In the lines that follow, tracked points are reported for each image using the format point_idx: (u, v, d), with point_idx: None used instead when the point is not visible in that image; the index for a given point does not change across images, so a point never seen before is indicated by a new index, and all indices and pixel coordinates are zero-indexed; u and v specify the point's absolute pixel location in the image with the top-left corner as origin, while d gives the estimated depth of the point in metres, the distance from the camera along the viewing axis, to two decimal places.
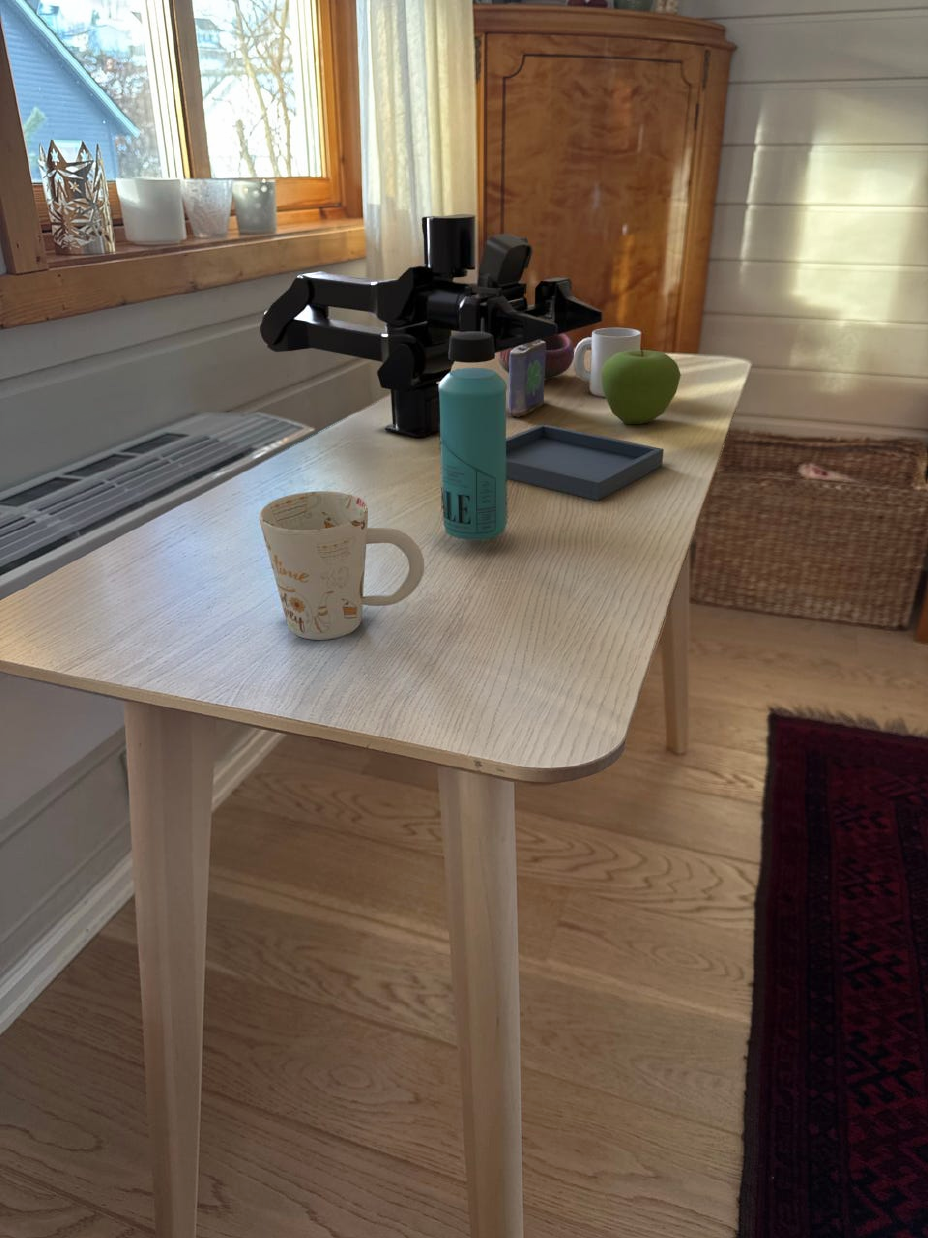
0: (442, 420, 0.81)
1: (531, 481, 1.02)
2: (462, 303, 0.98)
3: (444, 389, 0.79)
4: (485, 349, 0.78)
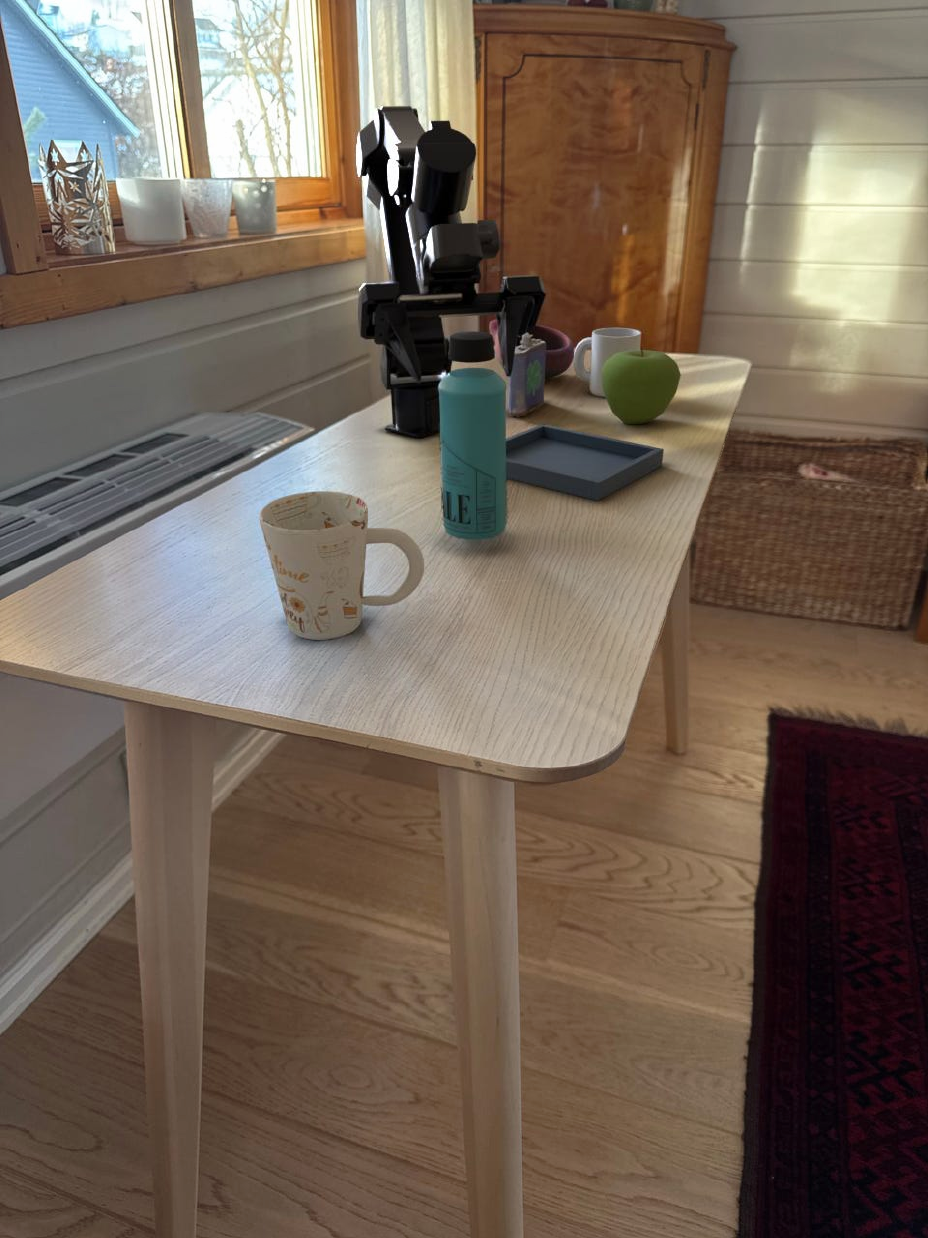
0: (442, 420, 0.81)
1: (531, 481, 1.02)
2: (361, 287, 0.88)
3: (444, 389, 0.79)
4: (485, 349, 0.78)
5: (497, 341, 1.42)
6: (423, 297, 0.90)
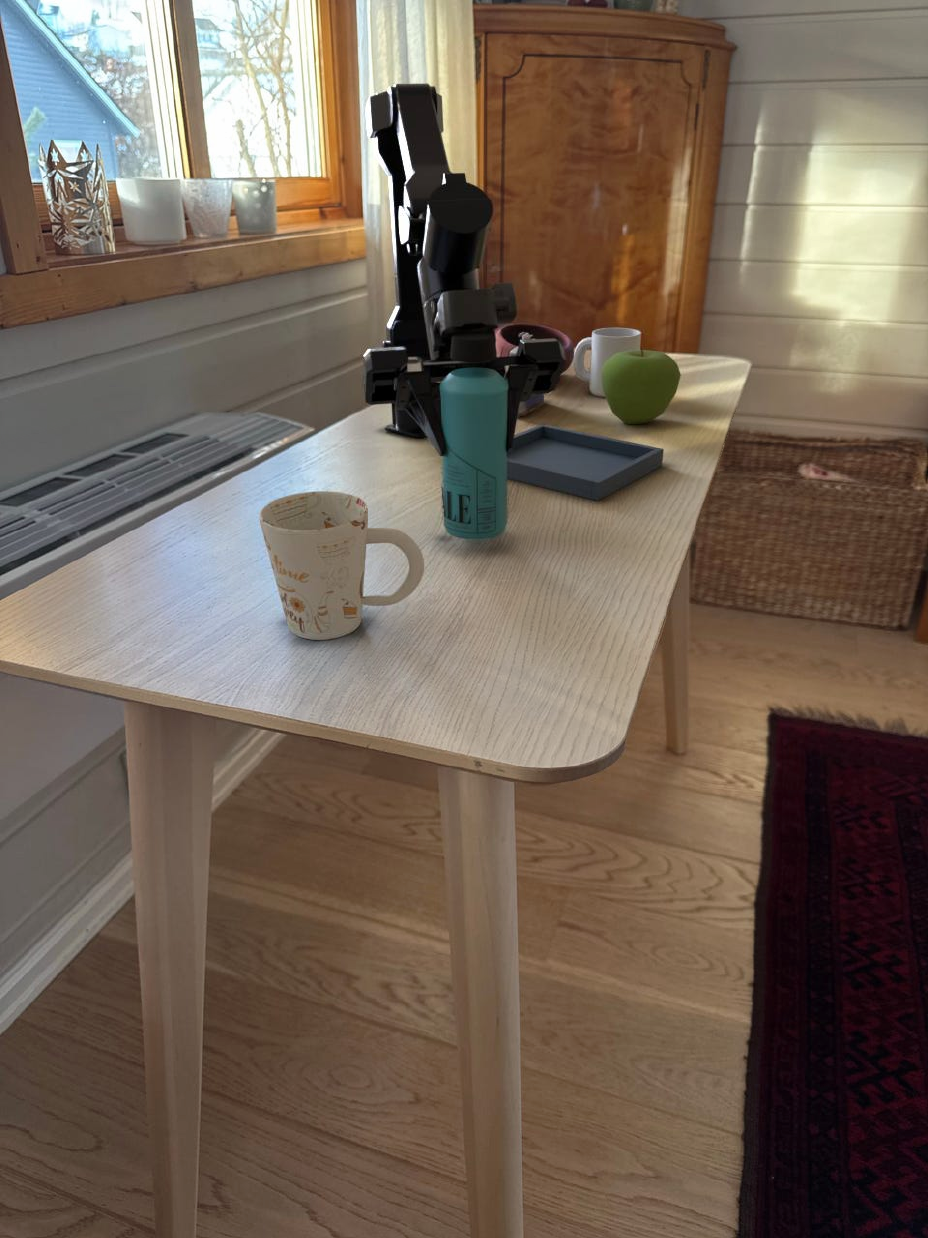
0: (443, 420, 0.81)
1: (531, 481, 1.02)
2: (366, 353, 0.81)
3: (445, 389, 0.79)
4: (487, 349, 0.78)
5: (497, 341, 1.42)
6: (449, 362, 0.83)
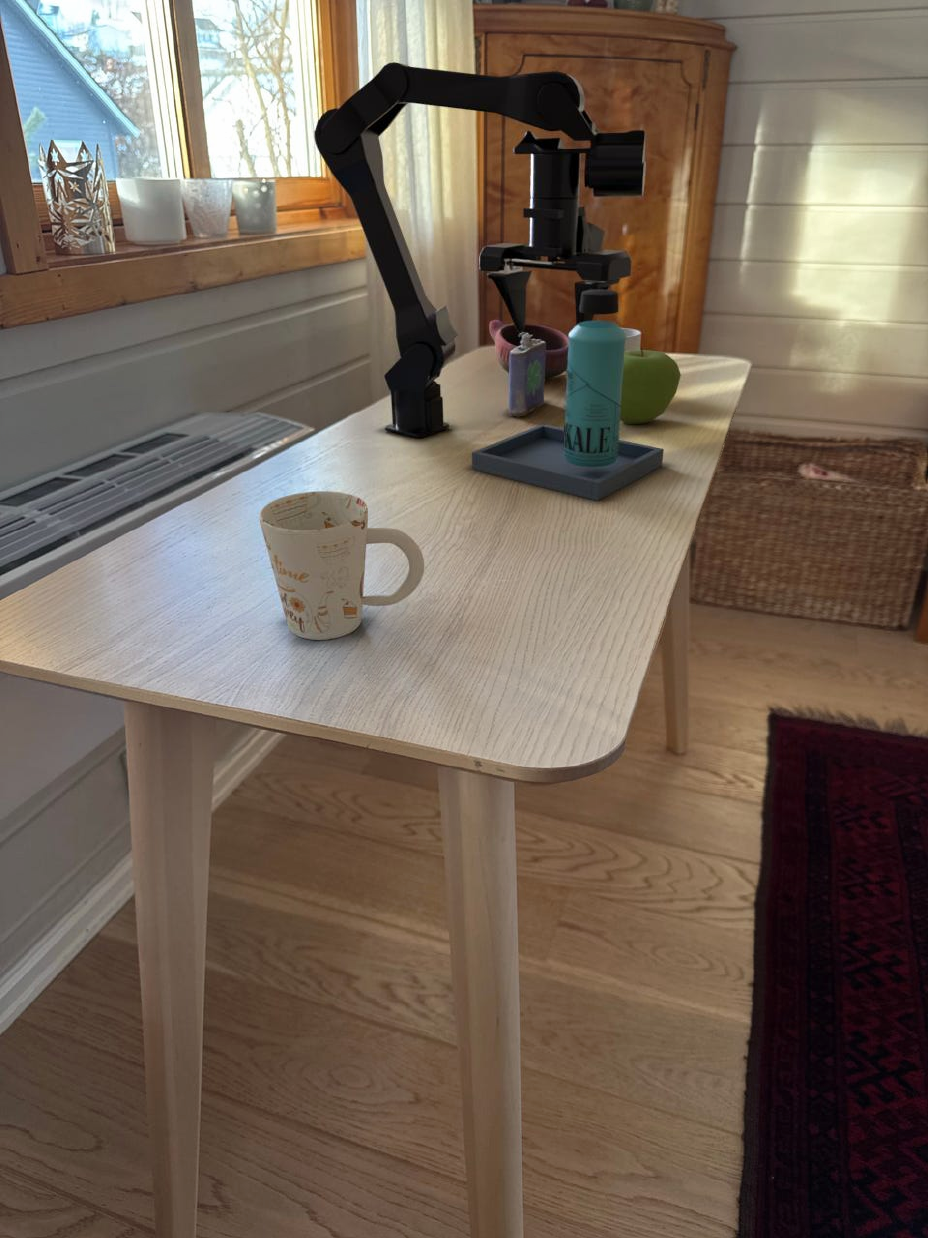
0: (584, 367, 0.96)
1: (531, 481, 1.02)
2: None
3: (591, 339, 0.94)
4: (617, 301, 0.95)
5: (497, 341, 1.42)
6: None
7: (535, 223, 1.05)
